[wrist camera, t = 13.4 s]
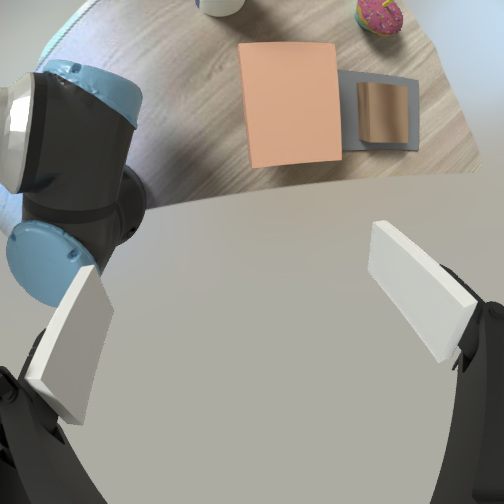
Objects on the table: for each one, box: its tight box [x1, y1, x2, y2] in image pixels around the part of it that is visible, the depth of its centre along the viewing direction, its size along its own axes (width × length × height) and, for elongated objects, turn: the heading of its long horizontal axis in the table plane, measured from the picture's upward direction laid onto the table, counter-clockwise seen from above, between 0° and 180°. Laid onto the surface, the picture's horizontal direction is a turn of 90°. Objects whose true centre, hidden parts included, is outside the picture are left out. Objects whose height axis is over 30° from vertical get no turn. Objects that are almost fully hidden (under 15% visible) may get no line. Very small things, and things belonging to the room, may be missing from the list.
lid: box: [237, 42, 342, 169], centre depth 32 cm, size 12×16×2 cm
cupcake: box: [355, 0, 403, 37], centre depth 29 cm, size 9×8×12 cm
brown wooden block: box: [356, 82, 408, 143], centre depth 40 cm, size 8×10×4 cm
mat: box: [337, 70, 419, 151], centre depth 42 cm, size 18×14×1 cm
